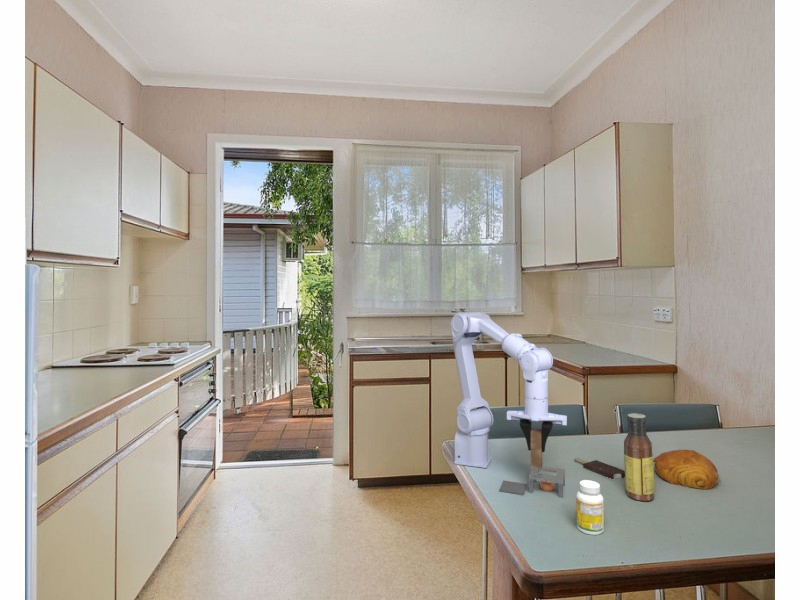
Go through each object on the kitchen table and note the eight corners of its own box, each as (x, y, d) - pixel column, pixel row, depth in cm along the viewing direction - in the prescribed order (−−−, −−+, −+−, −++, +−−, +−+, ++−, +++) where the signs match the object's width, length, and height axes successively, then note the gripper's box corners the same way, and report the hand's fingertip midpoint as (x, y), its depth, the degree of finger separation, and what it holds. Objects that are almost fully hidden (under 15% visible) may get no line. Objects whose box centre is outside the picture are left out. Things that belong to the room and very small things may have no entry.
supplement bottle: (599, 538, 92) (599, 491, 92) (572, 530, 96) (572, 484, 95) (607, 527, 96) (606, 482, 96) (581, 519, 100) (581, 476, 99)
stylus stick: (530, 466, 115) (530, 431, 114) (531, 463, 117) (531, 428, 117) (541, 468, 114) (541, 432, 113) (542, 464, 116) (542, 429, 116)
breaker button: (539, 489, 115) (539, 482, 114) (540, 484, 118) (540, 476, 118) (553, 492, 113) (553, 484, 113) (554, 486, 116) (554, 478, 116)
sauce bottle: (651, 492, 112) (651, 412, 112) (657, 504, 106) (656, 419, 106) (622, 489, 114) (622, 410, 114) (625, 500, 108) (625, 417, 108)
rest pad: (499, 491, 114) (499, 489, 114) (503, 481, 120) (503, 480, 120) (523, 495, 112) (523, 493, 112) (526, 485, 117) (526, 483, 117)
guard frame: (529, 492, 113) (528, 476, 113) (532, 479, 121) (532, 464, 121) (563, 497, 110) (562, 481, 110) (564, 484, 118) (564, 469, 118)
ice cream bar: (569, 463, 132) (615, 482, 119) (569, 457, 132) (615, 475, 119) (581, 459, 135) (628, 477, 122) (581, 454, 135) (628, 471, 122)
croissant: (711, 479, 124) (711, 449, 125) (723, 495, 110) (723, 461, 111) (651, 470, 131) (651, 441, 131) (655, 483, 117) (655, 451, 117)
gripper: (504, 398, 114) (505, 451, 114) (566, 402, 109) (566, 459, 109) (508, 391, 121) (509, 442, 121) (567, 396, 115) (567, 449, 116)
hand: (536, 449), depth 115 cm, fingers closed on stylus stick, 3 cm apart
